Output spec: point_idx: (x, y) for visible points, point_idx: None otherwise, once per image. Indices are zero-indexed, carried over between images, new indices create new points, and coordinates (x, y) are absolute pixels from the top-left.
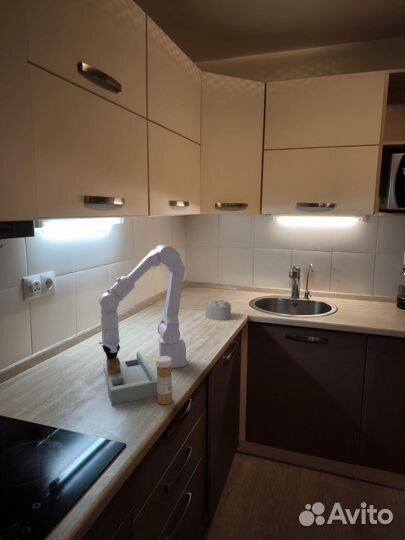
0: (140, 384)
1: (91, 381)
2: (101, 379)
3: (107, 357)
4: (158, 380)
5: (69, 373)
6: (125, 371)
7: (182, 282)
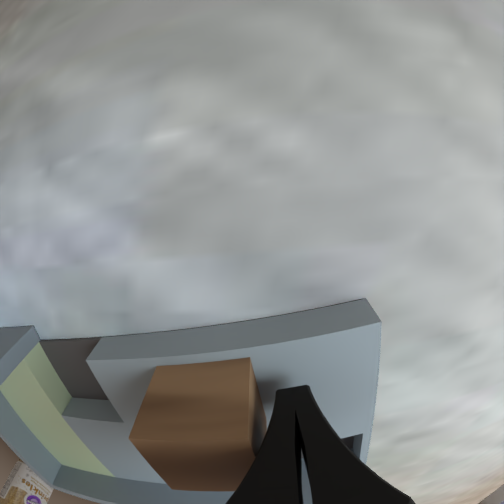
0: (16, 453)
1: (174, 221)
2: (197, 293)
3: (255, 459)
4: (3, 487)
5: (370, 32)
6: None
7: None
